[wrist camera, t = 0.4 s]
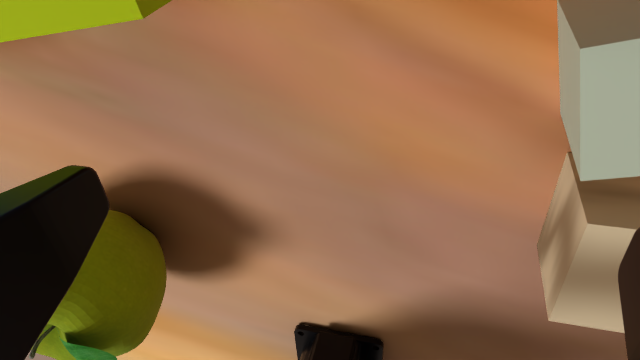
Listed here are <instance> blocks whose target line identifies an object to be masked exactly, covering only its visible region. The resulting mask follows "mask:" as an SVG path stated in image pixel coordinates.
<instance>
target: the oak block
mask: <svg viewBox="0 0 640 360" xmlns="http://www.w3.org/2000/svg"><path fill="white" fill-rule="evenodd" d="M639 227H640V176H636V177H624V178H612V179H600V180H588V181H580V178H579V174H578V171H577V168H576V164H575V161H574V158H573V154H572V152H567V155H566V158H565V161H564V164H563V167H562V170H561V173H560V176H559V179H558V182H557V185H556V188H555V191H554V194H553V197H552V200H551V204H550V207H549V210H548V213H547V216H546V219H545V222H544V225H543V228H542V231H541V234H540V237H539V240H538V243H537V249H538V256H539V262H540V269H541V275H542V282H543V289H544V295H545V302H546V308H547V315H548V321H553V322H559V323H565V324H571V325H578V326H584V327H590V328H596V329H602V330H608V331H614V332H620V333H625V332H624V325H623V317H622V309H621V301H620V293H619V285H618V270H619V266H620V263H621V261H622V259H623V257H624V254H625V252H626V250H627V248H628V246H629V244H630V241H631V239H632V237H633V235H634V233H635V231H636V230H637V229H638V228H639Z"/></svg>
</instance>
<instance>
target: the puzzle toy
mask: <svg viewBox="0 0 640 360" xmlns="http://www.w3.org/2000/svg"><path fill="white" fill-rule="evenodd" d="M170 1H171V0H0V42H5V41H11V40H17V39H23V38H29V37H35V36H41V35H47V34H54V33H60V32H66V31H72V30H78V29H84V28H90V27H96V26H102V25H108V24H114V23H120V22H126V21H132V20H138V19H143V18H145V17H147V16H148V15H150V14H151V13H153V12H154V11H156V10H157V9H159V8H161V7H162V6H164V5H165V4H167V3H168V2H170Z"/></svg>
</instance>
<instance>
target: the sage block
mask: <svg viewBox="0 0 640 360" xmlns="http://www.w3.org/2000/svg"><path fill="white" fill-rule="evenodd" d="M557 10H558V45H559V79H560V113H561V117H562V120H563V124H564V127H565V130H566V134H567V137H568V141H569V144H570V147H571V151H572V154H573V158H574V161H575V164H576V168H577V171H578V174H579V178H580V181H588V180H600V179H612V178H624V177H636V176H640V0H557Z"/></svg>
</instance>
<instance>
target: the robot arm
mask: <svg viewBox="0 0 640 360" xmlns="http://www.w3.org/2000/svg"><path fill="white" fill-rule="evenodd" d="M108 211H109V201H108V198H107V196H106V193H105V191H104V189H103V186H102V184H101V182H100V179H99V177H98V175H97V173H96V171H95V170H94V169H93V168H90V167H85V166H76V165H71V166H67V167H64V168H62V169H60V170H57V171H55V172H52V173H50V174H47V175H45V176H42V177H40V178H37V179H35V180H32V181H30V182H28V183H25V184H23V185H20V186H18V187H15V188H13V189H10V190H8V191H5V192H3V193H0V360H25V358H26V356H27V355H28V353H29V352H30V350H31V349H32V347H33V345H34V344H35V342H36V341H37V339H38V338H39V336H40V334H41V333H42V331H43V330H44V328H45V326H46V325H47V323H48V322H49V320H50V319H51V317H52V315H53V314H54V312H55V311H56V309H57V307H58V306H59V304H60V303H61V301H62V300H63V298H64V296H65V295H66V293H67V292H68V290H69V288H70V287H71V285H72V283H73V282H74V280H75V278H76V276H77V274H78V272H79V270H80V268H81V266H82V264H83V262H84V260H85V258H86V256H87V254H88V252H89V250H90V248H91V246H92V244H93V242H94V240H95V238H96V237H97V235H98V233H99V231H100V229H101V227H102V225H103V223H104V221H105V219H106V217H107V214H108ZM618 285H619V293H620V301H621V309H622V317H623V325H624V332H625V340H626V348H627V356H628V360H640V227H639V228H638V229H637V230H636V231H635V233H634V235H633V237H632V239H631V241H630V244H629V246H628V248H627V250H626V252H625V254H624V257H623V259H622V261H621V263H620V266H619V270H618ZM294 334H295V341H296V349H297V356H298V360H383V345H384V344H383V342H382V341H381V340H379V339H375V338H369V337H364V336H359V335H353V334H348V333H343V332H337V331H332V330H327V329H321V328H316V327H311V326H305V325H297V326H296V328H295V331H294Z"/></svg>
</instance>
